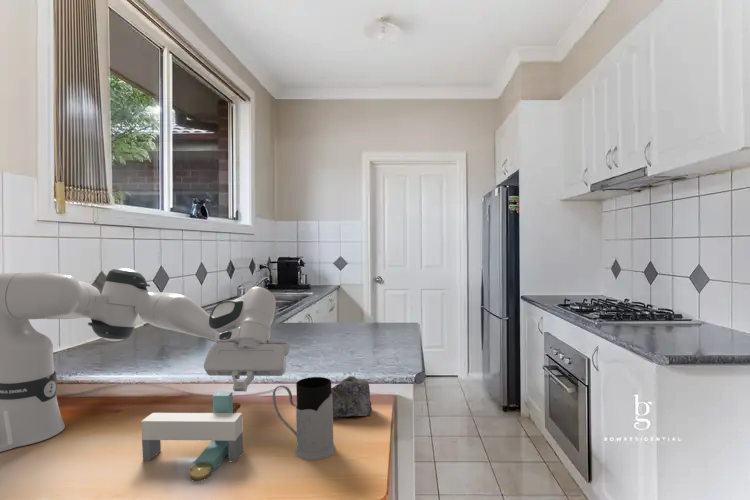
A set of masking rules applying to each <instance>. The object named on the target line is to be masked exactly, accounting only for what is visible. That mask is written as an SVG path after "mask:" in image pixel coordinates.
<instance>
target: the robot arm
mask: <svg viewBox="0 0 750 500" xmlns="http://www.w3.org/2000/svg"><path fill="white" fill-rule="evenodd" d="M104 281H105V282H104V284H103V286H102V287H103V288H102V290H101V292H100V290H99V289H98V288H97V287H95V286H94V285H92V284H90V283H88V282H86V281H83V280H79V279H77V278H76V277H75V276H73V275H69V274H64V273H59V272H58V273H57V272H50V271H49V272H48V271H47V272H45V271H44V272H8V273H3V272H2V273H0V453H1V452H5V451H8V450H9V451H10V450H11V449H15V448H19V447H23V446H28V445H32V444H35V443H39V442H42V441H45V440H48V439H50V438H52V437H54V436H56V435H58V434H60V433H61V432H63V430H65V427H66V425H65V423H64V420H63V417H62V413H61V411H60V407H59V401H58V398H57V397H58V396H57V389H58V377H57V371H56V370H55V364H54V345H53V342H52V339H50V338H49V337H48V336H47V335H45V334H44V333H41V332H39V331H37V329H35V328H34V327H33V325H32V324H31V321H30V320H73V319H80V318H83V319H84V318H85V319H86V318H87V319H88V318H89V319H90V320H91V321H90V322H87V326H89V327H91V328H92V331H93V332H94V333H95V334H96V336H97V337H99V338H102V339H103V340H106V341H110V342H119V341H123V340H128V339H129V338H131V336H132V335H133V333H134V330H135V325H136V322H137V319H138V315H139V317H140V319H141V320H143V321H144V322H145V323H147V324H149V325H151V326H154V327H156V328H160V329H164V330H170V331H173V332H178V333H182V334H183V333H184V334H187V335H190V336H195V337H198V338H201V339H205V340H208V341H212V342H214V343H213V344H212V345H211V346H210V348H209V349H208V352H207V354H206V357H205V360H204V363H203V369H204V372H206V374H207V375H208V376H209V377H210V376H212V377H213V376H217V377H219V376H225V377H226V376H228V377H230V376H231V378H232V381H233V386H232V390H233V391H234V392H244V393H245V392H247V390H248V386H249V385H250V384H251V383H252V382H253V381H255V380H254V379H255V377H258V376H259V377H264V376H265V377H282V376H283V375H284V374H285V373H286V369H287V356H288V355H289V352H290V344H289V343H287V342H286V341H285V340H270V337H271V327H272V324H273V322H274V318H275V315H276V314H275V313H276V305H277V302H276V297H275V296H274V294H273V293H272V292H271V291H270V290H269V289H268V288H264V287H262V286H261V287H260V286H253V287H251V288H250V289H248V290H247V291H246V292H245V293H244V294H243V295H241V296H240V297H237V298H235V299H230V300H229V299H228V300H224V301H221V302H218V303H217V304H216V305H215V306H214V307H213V309H212V310H211V312H210V313H208V312H207V311H206V310H204V309H203V307H201V306H200V305H199V304H198V303H197V302H196V301H194V300H193V299H192V298H190V297H189V296H186V295H184V294H181V293H177V292H169V291H168V292H164V291H163V292H157V291H156V292H153V291H149V290H148V288H149V287H151V285H150V283H149V284H148V283H147V280H146V278H145V277H144V276H143V274H141V273H140V272H138V271H136V270H134V269H132V268H128V267H119V268H118V267H117V268H115V269H114V268H113V269H111V270H109V271H108V272H107V275H106V277H105V279H104ZM147 287H148V288H147ZM243 376H244V377H246V378H245V379H244V380H243V381H238V380H240V377H243Z"/></svg>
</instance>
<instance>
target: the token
mask: <svg viewBox="0 0 750 500" xmlns="http://www.w3.org/2000/svg"><path fill="white" fill-rule="evenodd" d="M211 476H212V470H211V464H209V463H198V464H195V463H194V464H193V465H191V466H190V468H189V479H190V480H191V481H192V480H194V482H201V480H202V481H205V480H207V479H209V478H210V477H211ZM208 477H209V478H208ZM204 479H205V480H204Z"/></svg>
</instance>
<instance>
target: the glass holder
mask: <svg viewBox="0 0 750 500" xmlns="http://www.w3.org/2000/svg"><path fill="white" fill-rule="evenodd" d="M295 384H296V385H295V386H296V391H295V392H296V404H295V402H293V394H292V391H291V390H290V388H289V387H288V386H286V385H283V384H282V385H277V386H276V387H275V388H274V389H273V391H272V403H273V407H274V410H275V414H277V417H278V419H279V420H280V422H282V424H283V425H285V426H286V428H288V429H289V430H290V431H291V432H292V433H293V434H294V435H295V437H296V448H295V451H294V453H295V456H296V457H297V458H299V459H301V460H306V461H319V460H324V459H327V458H329V457H331V456H332V455H334V454H335V453H336V446H335V444H334V417H333V402H332V394H331V388H332V380H331V379H329V378H327V377H321V376H312V377H311V376H310V377H305V378H301V379H300V380H298V381H296V383H295ZM280 388H283V389H285V390H286V392H287V393H288V397H289V403H290V405H291V406H293V407H295V412H296V413H295V417H296V430H295V429H294V428H293V427H292V426H291V425H290V424H289V423H288V422H287V421H286V420H285V419H284V418H283V416H282V415H281V413H280V411H279V409H278V406H277V401H276V391H277V389H280Z"/></svg>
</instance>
